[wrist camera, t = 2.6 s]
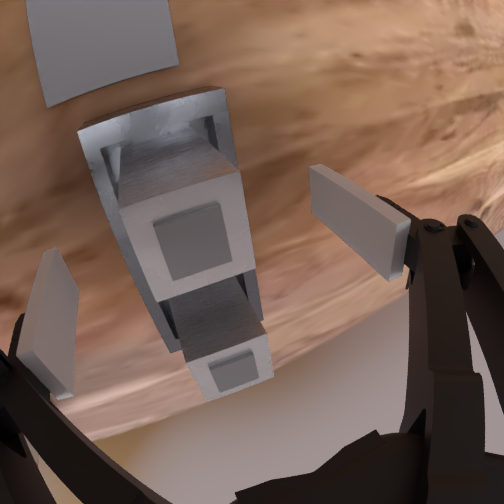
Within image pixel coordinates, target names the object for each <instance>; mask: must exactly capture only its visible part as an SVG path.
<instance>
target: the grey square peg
mask: <svg viewBox="0 0 504 504" xmlns="http://www.w3.org/2000/svg"><path fill="white" fill-rule="evenodd" d="M118 210H119V212H120V215H121V218H122V220H123V223H124V226H125V228H126V231H127V233H128V236H129V239H130V241H131V244H132V246H133V249H134V251H135V254H136V256H137V258H138V261H139V263H140V266H141V268H142V270H143V273H144V275H145V277H146V280H147V282H148V284H149V286H150V289H151V291H152V293H153V295H154V298H155V300H156V302H160V301H163V300H166V299H169V298H172V297H175V296H178V295H180V294H183V293H186V292H189V291H192V290H195V289H198V288H201V287H204V286H207V285H209V284H212V283H215V282H218V281H221V280H224V279H227V278H230V277H232V276H235V275H238V274H241V273H244V272H247V271H249V270H252V269H255V268H256V264H255V258H254V252H253V246H252V240H251V234H250V228H249V222H248V216H247V210H246V204H245V198H244V192H243V186H242V180H241V174H240V171H239V170H238V169H237V168H236V167H235V166H234V165H233V164H232V163H231V162H230V161H229V160H227V159H226V158H225V157H224V156H223V155H222V154H221V153H220V152H219V151H218V150H217V149H215V148H214V147H213V146H212V145H211V144H210V143H209V142H208V141H207V140H206V139H204V138H203V137H202V136H201V135H200V134H199V133H198V132H197V131H196V130H194V129H193V128H192V127H191V128H187V129H183V130H180V131H176V132H173V133H169V134H166V135H162V136H159V137H156V138H152V139H149V140H146V141H143V142H140V143H137V144H133V145H130V146H127V147H124V148H121V151H120V169H119V200H118Z"/></svg>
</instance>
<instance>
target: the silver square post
mask: <svg viewBox="0 0 504 504" xmlns="http://www.w3.org/2000/svg"><path fill="white" fill-rule="evenodd" d="M168 300H169V304H170V307H171V311H172V315H173V319H174V322H175V326H176V330H177V333H178V337H179V340H180V344H181V347H182V351H183V354H184V358H185V361H186V364H187V366H188V368H189V369H190V371H191V373H192V375H193V377H194V379H195V381H196V383H197V384H198V386H199V388H200V390H201V392H202V394H203V395H204V397H205V399H206V401H207V402H208V401H211V400H214V399H217V398H220V397H223V396H225V395H228V394H231V393H234V392H236V391H239V390H242V389H244V388H247V387H250V386H252V385H254V384H257V383H260V382H262V381H265V380H267V379H270V378H272V377H274V373H273V367H272V361H271V355H270V349H269V343H268V337H267V333H266V331H265V329H264V327H263V326H262V324H261V322H260V320H259V319H258V317H257V315H256V313H255V311H254V310H253V308H252V306H251V304H250V302H249V301H248V299H247V297H246V295H245V294H244V292H243V290H242V288H241V286H240V285H239V283H238V281H237V279H236V277H235V276H232V277H230V278H227V279H224V280H221V281H218V282H215V283H212V284H209V285H207V286H204V287H201V288H198V289H195V290H192V291H189V292H186V293H183V294H180V295H178V296H175V297H172V298H169V299H168Z"/></svg>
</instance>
